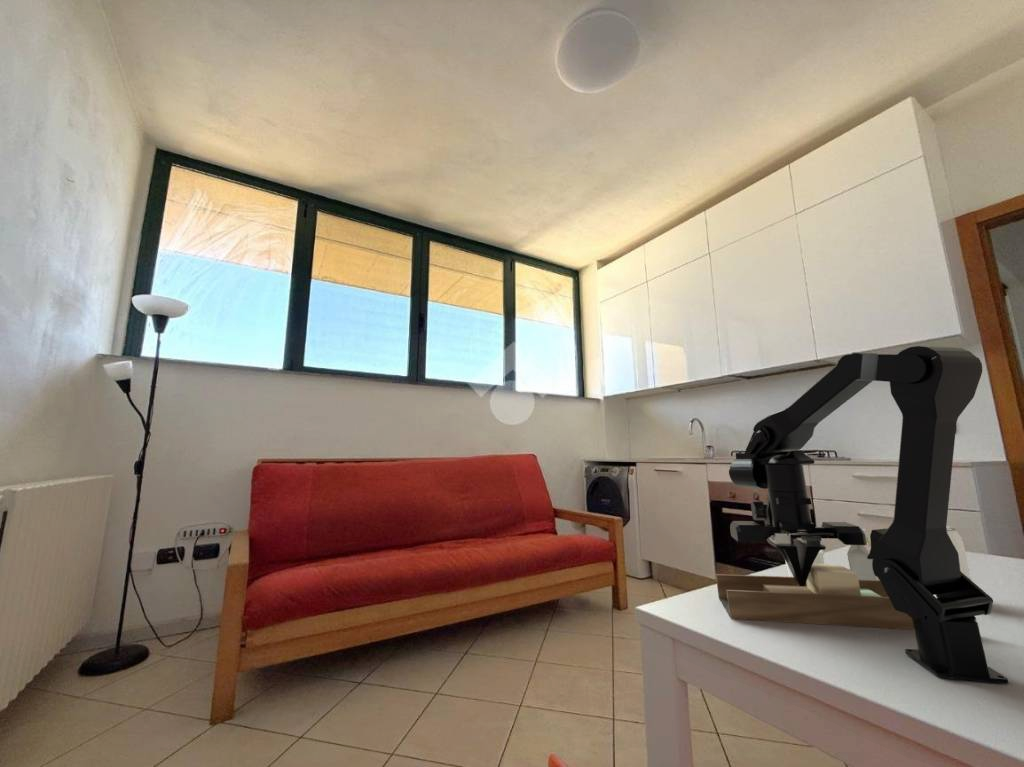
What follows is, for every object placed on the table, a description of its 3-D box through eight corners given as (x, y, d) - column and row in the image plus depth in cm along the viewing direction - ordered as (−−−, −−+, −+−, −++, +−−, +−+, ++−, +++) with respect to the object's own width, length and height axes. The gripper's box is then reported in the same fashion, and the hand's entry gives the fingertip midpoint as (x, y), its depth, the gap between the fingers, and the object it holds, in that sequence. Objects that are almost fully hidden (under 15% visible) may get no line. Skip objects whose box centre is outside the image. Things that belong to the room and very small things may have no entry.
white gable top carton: (852, 585, 80) (843, 532, 82) (863, 578, 84) (854, 527, 86) (877, 589, 78) (866, 534, 79) (886, 582, 81) (876, 529, 83)
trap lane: (965, 633, 58) (958, 601, 59) (730, 618, 66) (727, 590, 67) (919, 608, 68) (913, 581, 68) (718, 598, 76) (715, 574, 77)
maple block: (861, 601, 64) (857, 573, 65) (821, 598, 65) (817, 571, 66) (844, 590, 69) (840, 565, 70) (807, 587, 71) (803, 563, 71)
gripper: (827, 486, 77) (842, 574, 74) (719, 487, 82) (729, 570, 79) (859, 491, 66) (877, 595, 63) (732, 492, 71) (744, 588, 68)
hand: (801, 585), depth 69 cm, fingers closed
